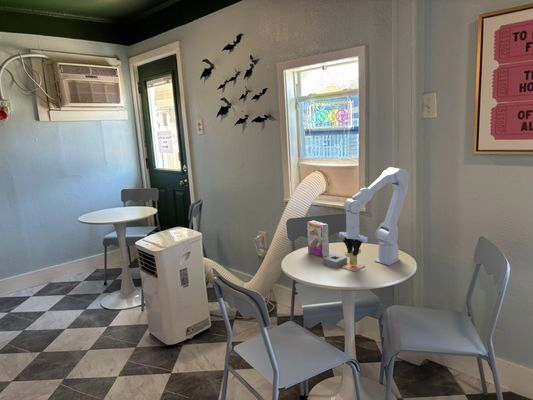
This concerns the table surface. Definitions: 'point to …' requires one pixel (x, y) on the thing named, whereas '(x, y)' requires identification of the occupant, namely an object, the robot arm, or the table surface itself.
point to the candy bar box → (318, 238)
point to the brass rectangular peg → (352, 257)
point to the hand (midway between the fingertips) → (353, 254)
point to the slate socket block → (335, 260)
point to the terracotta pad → (353, 267)
